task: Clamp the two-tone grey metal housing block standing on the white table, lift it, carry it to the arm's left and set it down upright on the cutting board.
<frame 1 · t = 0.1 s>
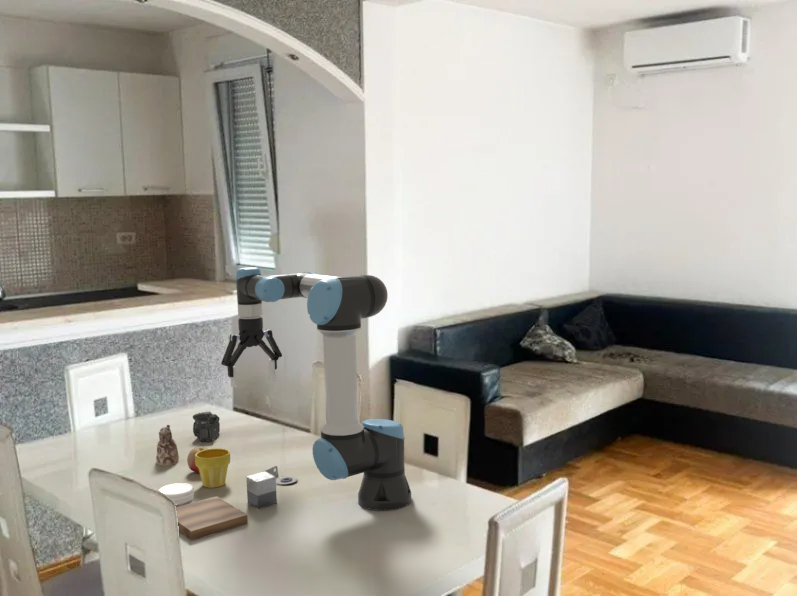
hand: (253, 383, 255), 28 cm above the table, fingers open, 13 cm apart
housing: (262, 503, 229), on the table
fruit: (201, 472, 257), on the table
bracket: (281, 481, 248), on the table
camera: (207, 438, 293), on the table
figurine: (167, 462, 267), on the table
cutting board: (205, 521, 217), on the table
plant pot: (214, 484, 245), on the table
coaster: (176, 500, 234), on the table
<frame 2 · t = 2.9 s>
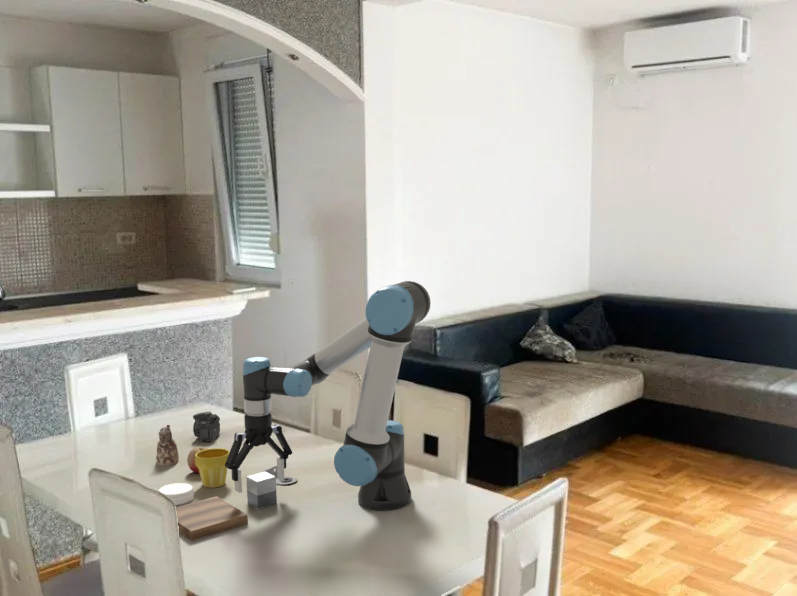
hand: (260, 485, 228), 5 cm above the table, fingers open, 13 cm apart
nothing on the table moved.
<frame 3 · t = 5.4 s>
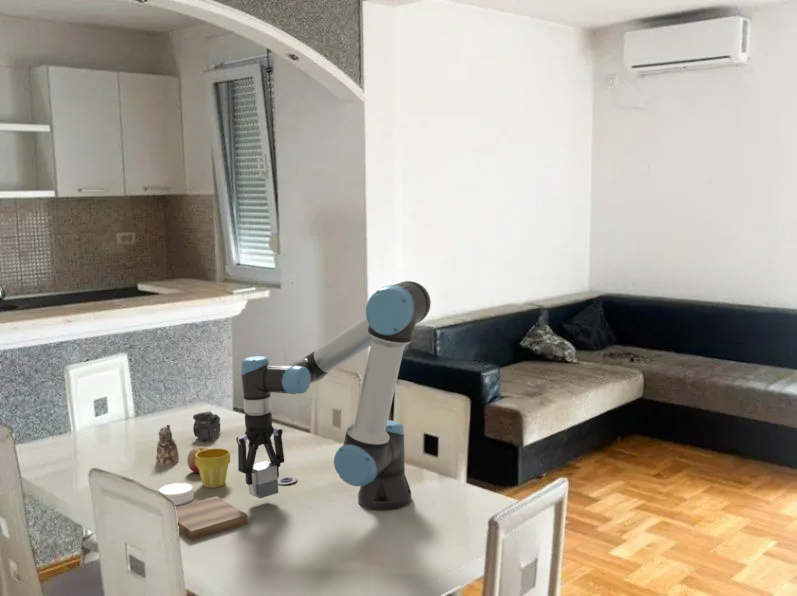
hand: (263, 491, 228), 4 cm above the table, fingers closed on housing, 6 cm apart
housing: (263, 493, 228), point 3 cm above the table, touching gripper
everything else where it was.
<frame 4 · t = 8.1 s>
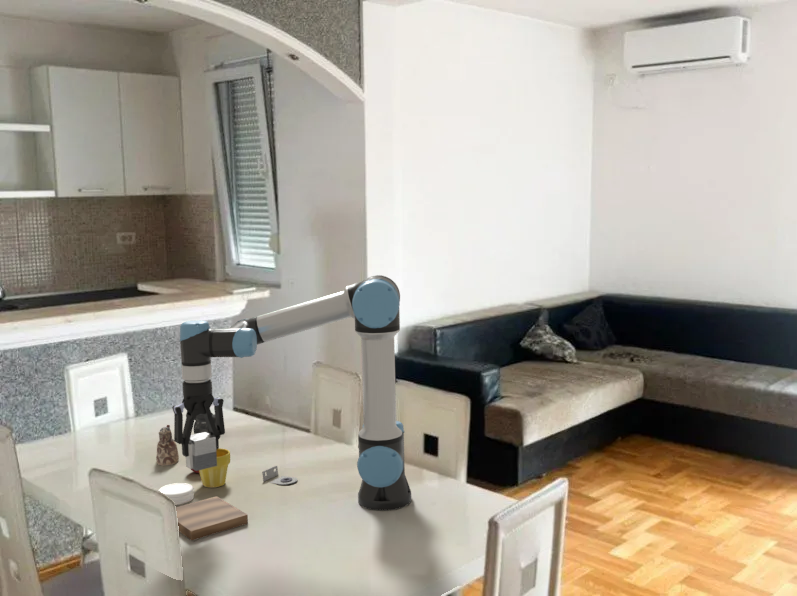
hand: (201, 464, 215), 16 cm above the table, fingers closed on housing, 6 cm apart
housing: (201, 465, 215), point 16 cm above the table, touching gripper
everything else where it was.
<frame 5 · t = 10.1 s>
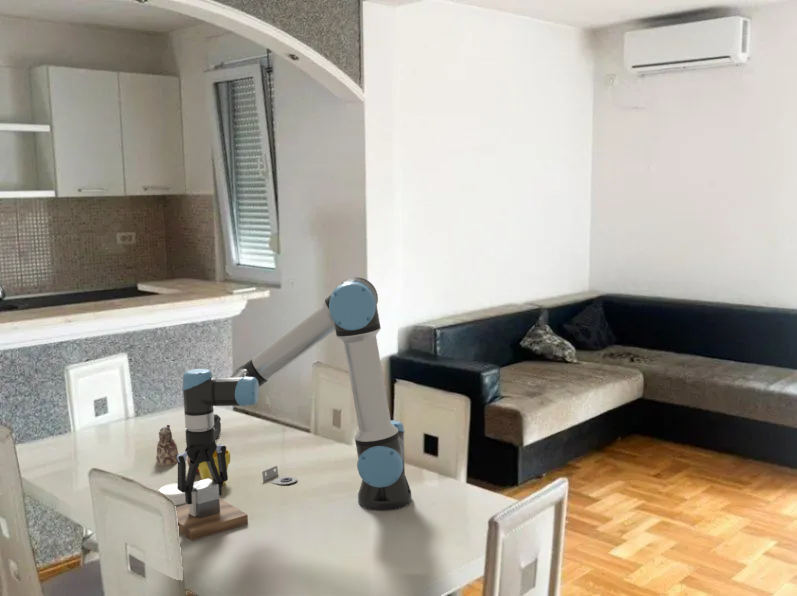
hand: (204, 511, 216), 3 cm above the table, fingers closed on housing, 6 cm apart
housing: (204, 512, 216), point 3 cm above the table, touching gripper
everything else where it was.
when the fingers open (3 cm above the table, at t = 11.0 s): housing stays where it is, resting on cutting board.
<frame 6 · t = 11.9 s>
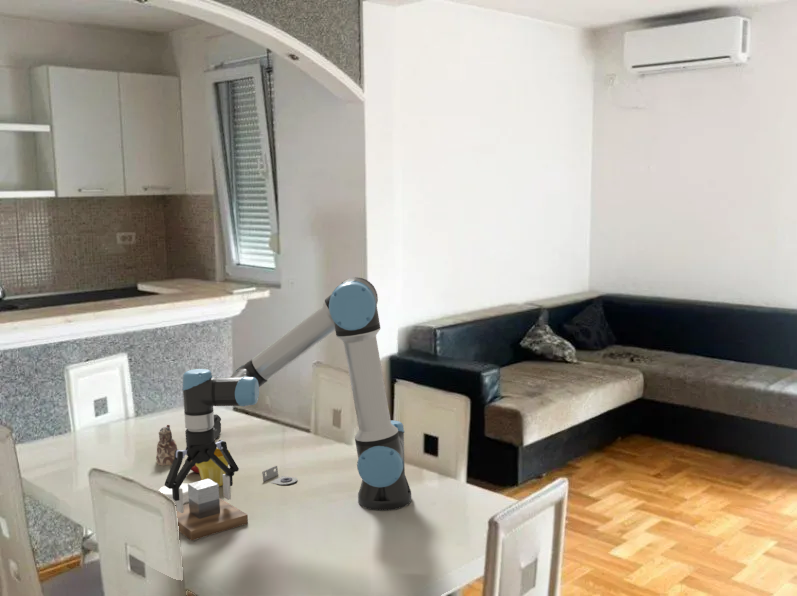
hand: (204, 504, 216), 5 cm above the table, fingers open, 13 cm apart
housing: (204, 512, 216), point 2 cm above the table, touching cutting board
everything else where it was.
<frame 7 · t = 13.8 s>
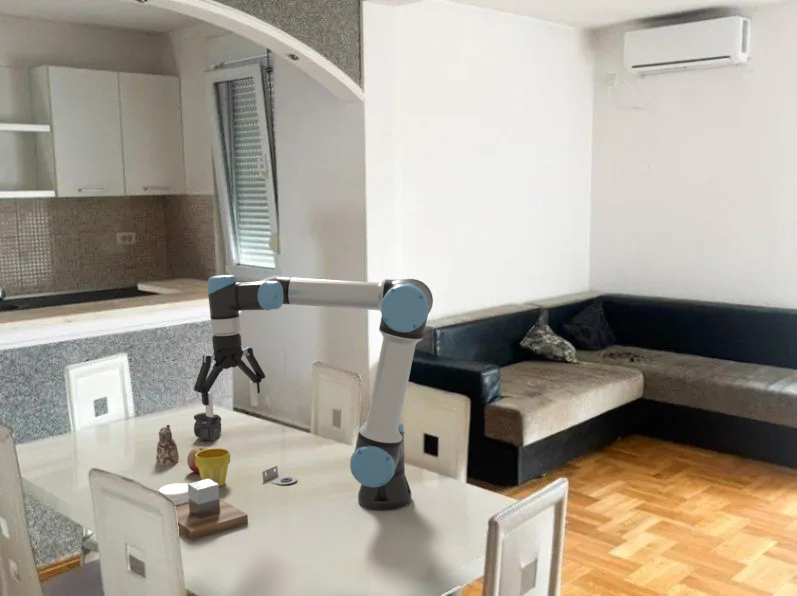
hand: (232, 411, 217), 29 cm above the table, fingers open, 13 cm apart
nothing on the table moved.
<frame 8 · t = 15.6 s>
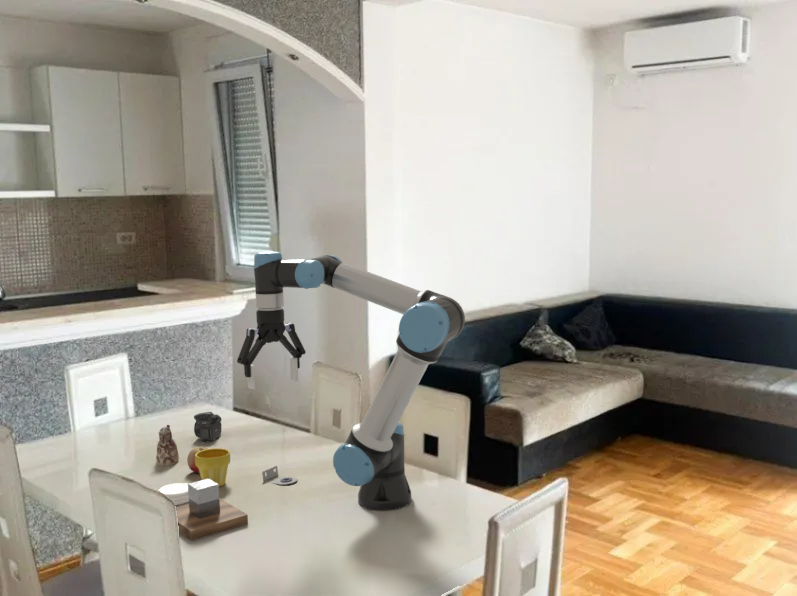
hand: (273, 384, 223), 35 cm above the table, fingers open, 13 cm apart
nothing on the table moved.
at the end: housing inside the target area on the cutting board (0.0 cm from its centre), point 2.5 cm above the cutting board's base; housing tilted 0°; the gripper is holding nothing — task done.
